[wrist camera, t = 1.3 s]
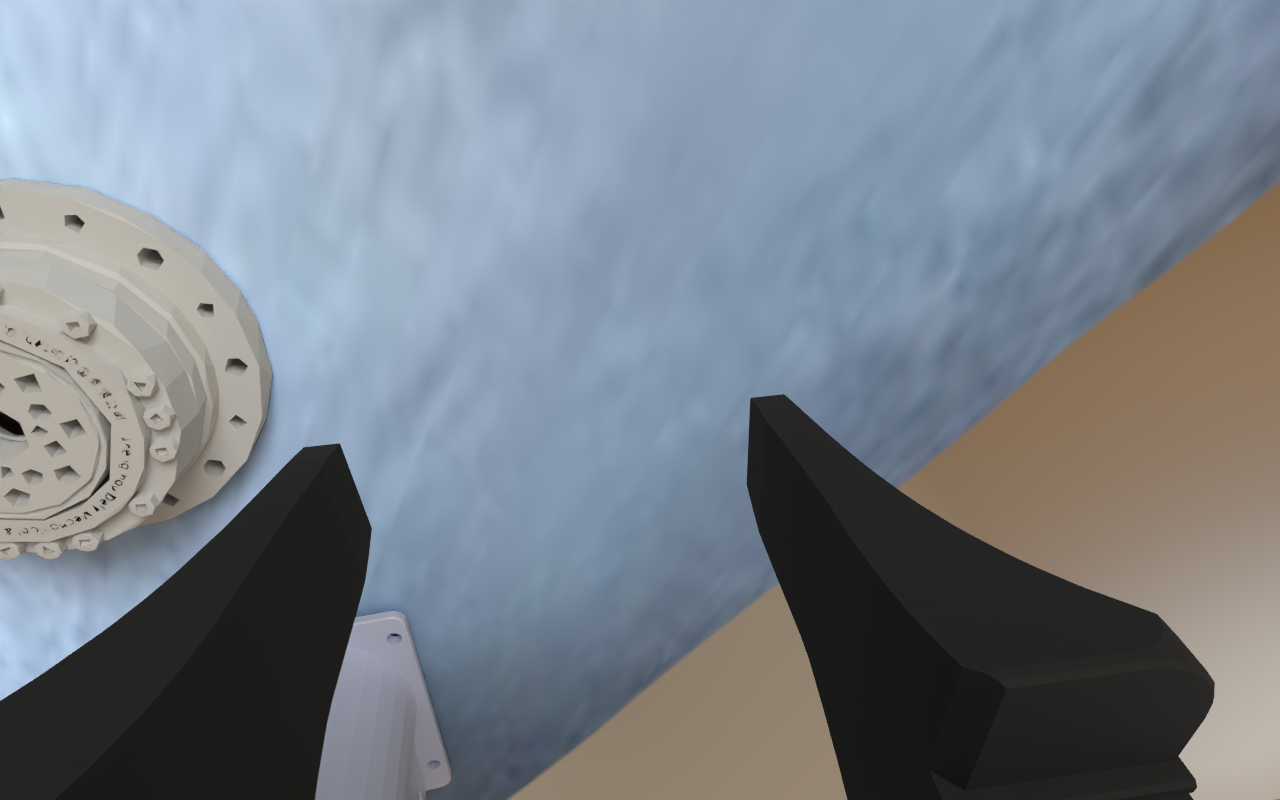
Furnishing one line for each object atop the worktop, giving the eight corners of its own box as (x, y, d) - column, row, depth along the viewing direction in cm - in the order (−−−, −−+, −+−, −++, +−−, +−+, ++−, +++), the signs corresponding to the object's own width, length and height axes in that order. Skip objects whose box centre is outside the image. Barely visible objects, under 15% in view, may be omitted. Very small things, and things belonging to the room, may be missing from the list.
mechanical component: (306, 487, 24) (229, 171, 19) (271, 578, 20) (164, 208, 15) (-45, 521, 22) (-223, 181, 17) (-158, 627, 18) (-424, 226, 13)
